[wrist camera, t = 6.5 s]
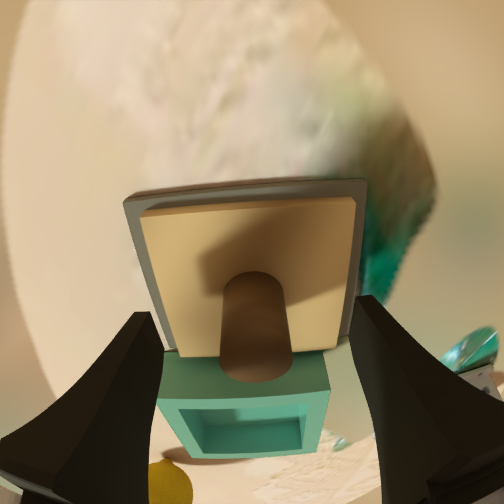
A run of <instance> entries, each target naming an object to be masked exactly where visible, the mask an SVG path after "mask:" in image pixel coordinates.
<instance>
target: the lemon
mask: <svg viewBox="0 0 504 504" xmlns="http://www.w3.org/2000/svg"><path fill="white" fill-rule="evenodd" d="M148 483H149V504H192V501H193V488H192V484H191V481H190V479H189V477H188V476H187V474H186V473H185V472H184V471H183V470H182V469H181V468H179V467H177V466H176V465H174V464H173V462H172V461H171V460H170V459H167V458H164V459H163V460H161V461H160V462H157V463H152V464H149V470H148Z"/></svg>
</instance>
